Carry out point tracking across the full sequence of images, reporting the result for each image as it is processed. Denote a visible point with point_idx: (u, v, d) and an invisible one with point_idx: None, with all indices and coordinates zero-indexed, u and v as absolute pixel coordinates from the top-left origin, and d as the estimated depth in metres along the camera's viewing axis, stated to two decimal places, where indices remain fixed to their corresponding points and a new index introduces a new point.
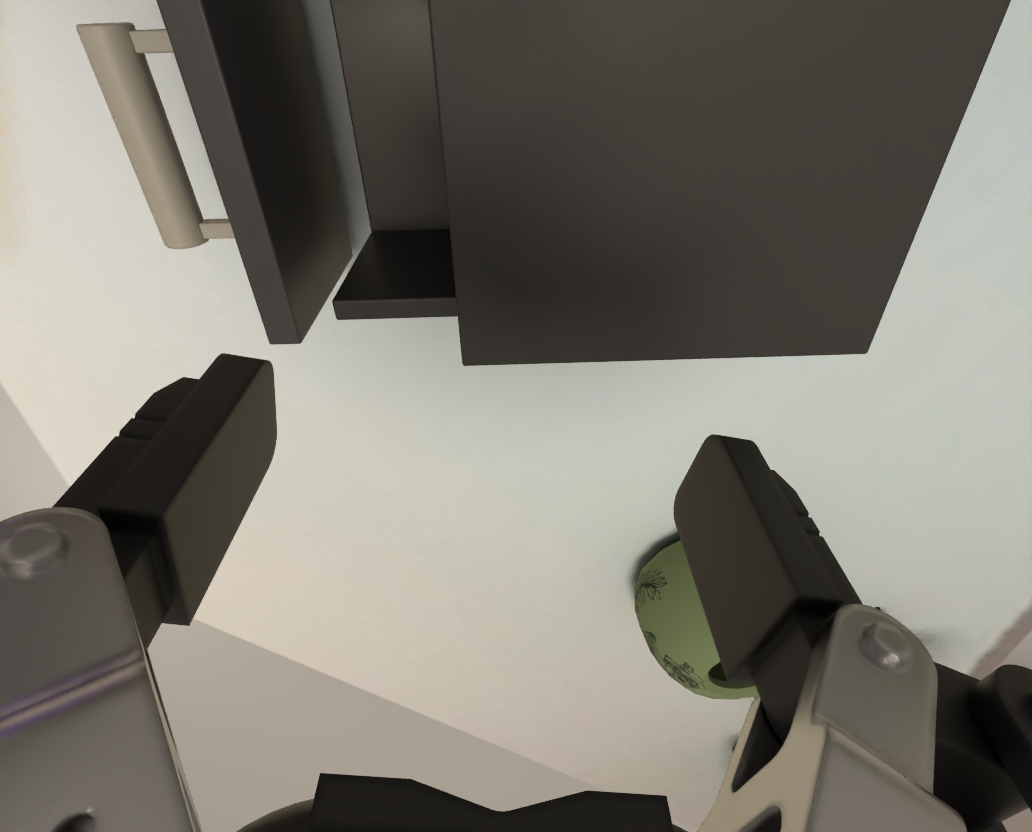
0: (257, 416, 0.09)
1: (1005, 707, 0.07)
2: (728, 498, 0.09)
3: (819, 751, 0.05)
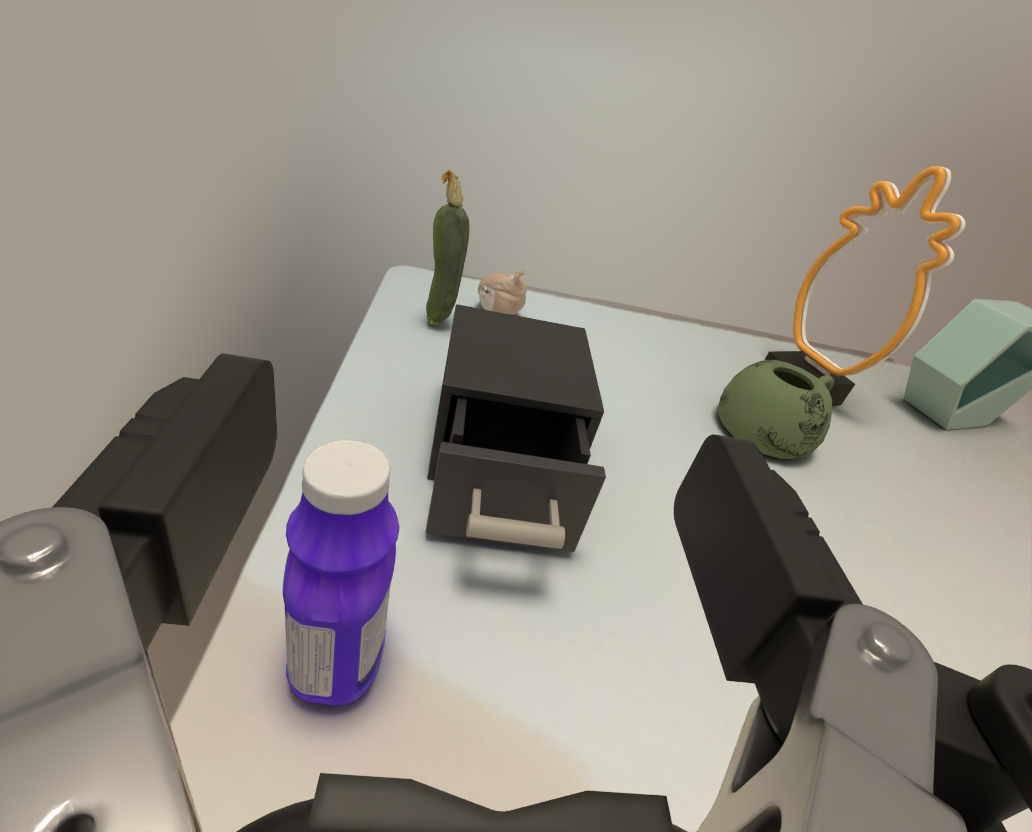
0: (256, 416, 0.09)
1: (1005, 707, 0.07)
2: (729, 498, 0.09)
3: (817, 751, 0.05)
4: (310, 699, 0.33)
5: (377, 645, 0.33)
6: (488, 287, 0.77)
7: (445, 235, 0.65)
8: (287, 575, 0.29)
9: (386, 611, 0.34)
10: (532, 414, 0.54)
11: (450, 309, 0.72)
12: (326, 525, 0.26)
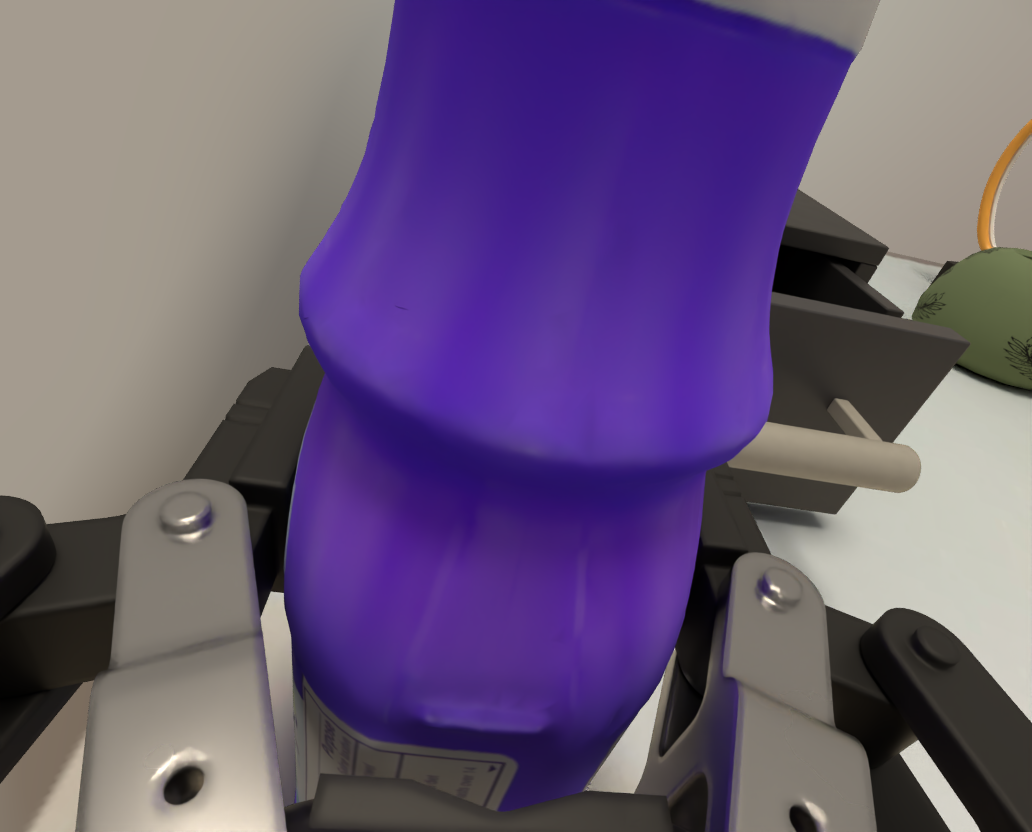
0: None
1: (888, 644, 0.07)
2: None
3: (733, 713, 0.05)
4: None
5: None
6: None
7: None
8: (305, 512, 0.06)
9: None
10: None
11: None
12: (579, 132, 0.04)
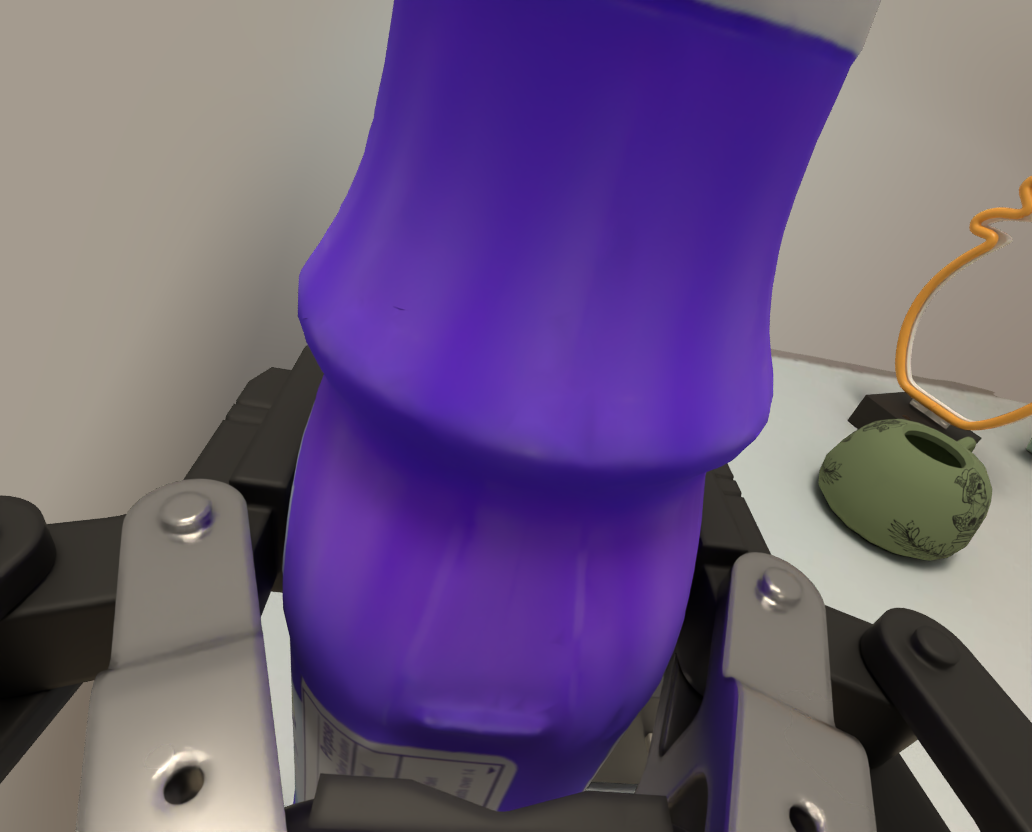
0: None
1: (887, 644, 0.07)
2: None
3: (733, 712, 0.05)
4: None
5: None
6: None
7: None
8: (303, 513, 0.06)
9: None
10: None
11: None
12: (579, 134, 0.04)
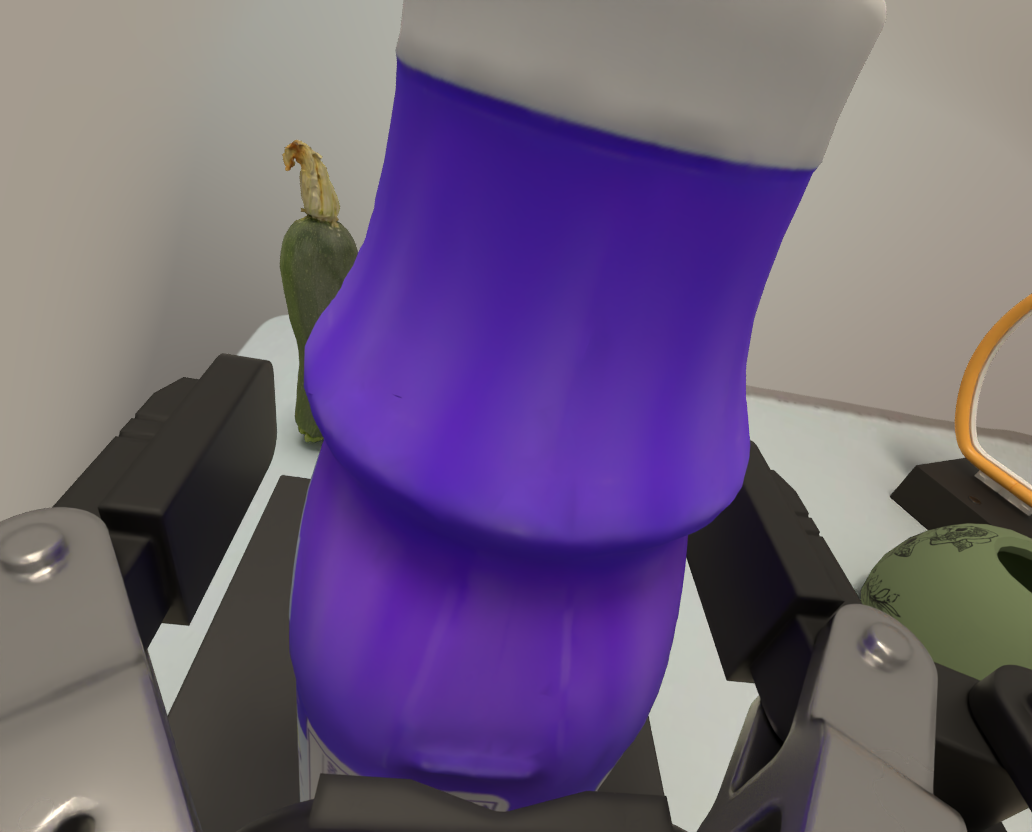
0: (256, 416, 0.09)
1: (1005, 707, 0.07)
2: None
3: (818, 751, 0.05)
4: None
5: None
6: None
7: (301, 283, 0.30)
8: (309, 567, 0.07)
9: None
10: None
11: None
12: (558, 253, 0.04)
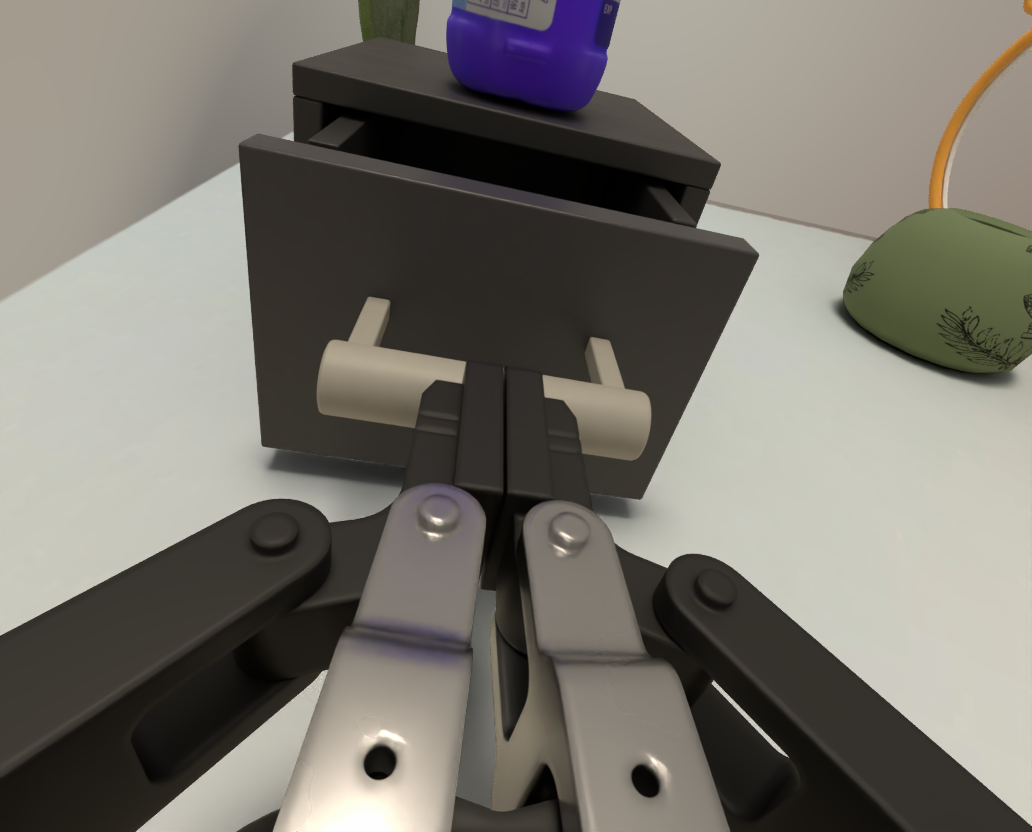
0: None
1: (669, 586, 0.07)
2: None
3: (559, 698, 0.05)
4: (506, 45, 0.17)
5: None
6: None
7: None
8: None
9: None
10: None
11: None
12: None
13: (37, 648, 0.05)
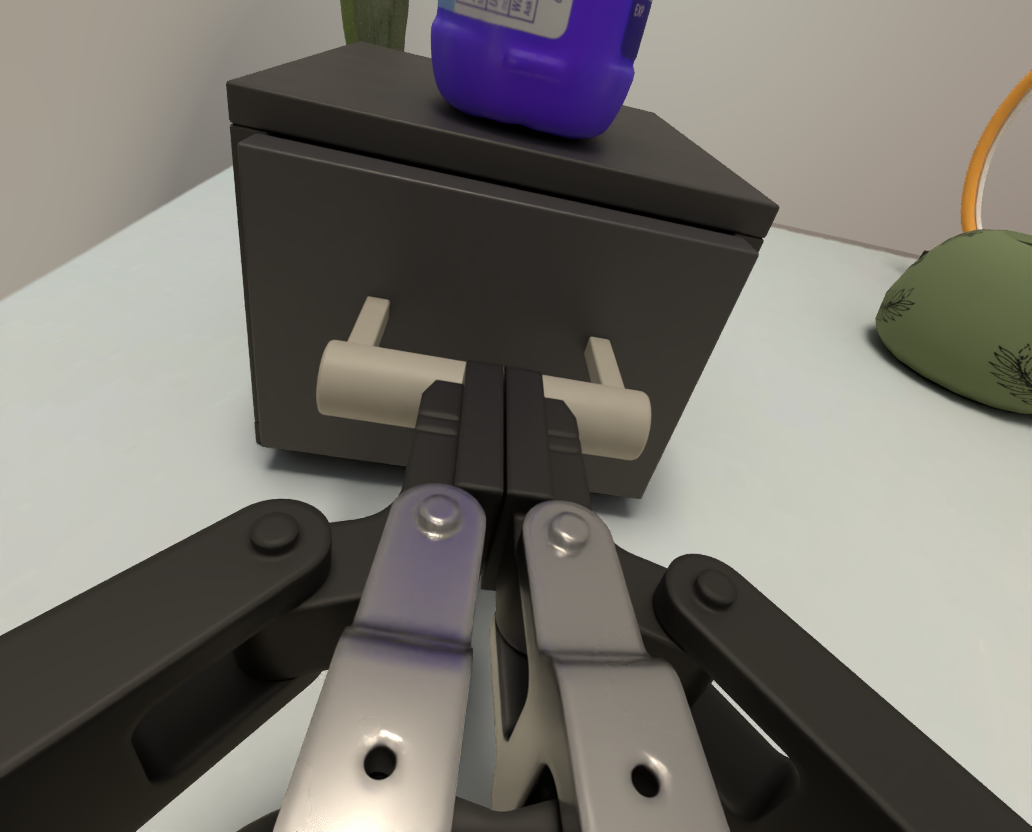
0: None
1: (668, 586, 0.07)
2: None
3: (559, 698, 0.05)
4: (507, 57, 0.13)
5: None
6: None
7: None
8: None
9: None
10: None
11: None
12: None
13: (37, 648, 0.05)
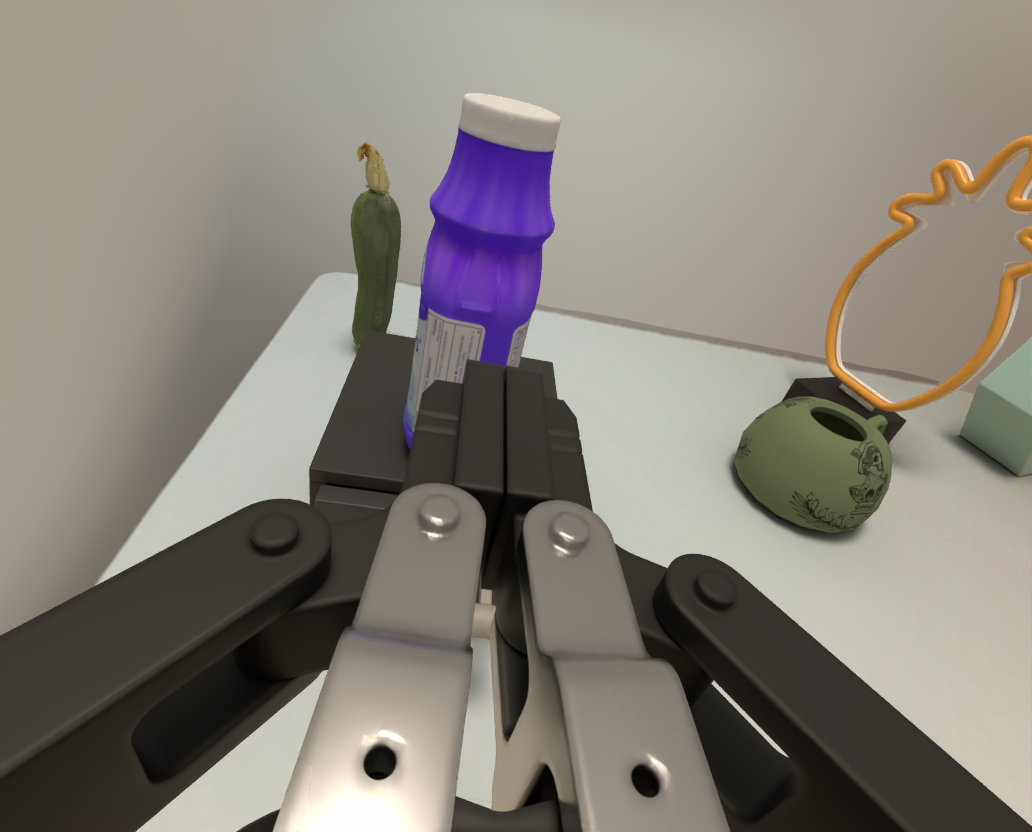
0: None
1: (669, 586, 0.07)
2: None
3: (559, 698, 0.05)
4: None
5: None
6: None
7: (365, 233, 0.48)
8: (430, 261, 0.24)
9: None
10: None
11: (383, 330, 0.55)
12: (492, 168, 0.22)
13: (37, 648, 0.05)
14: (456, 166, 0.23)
